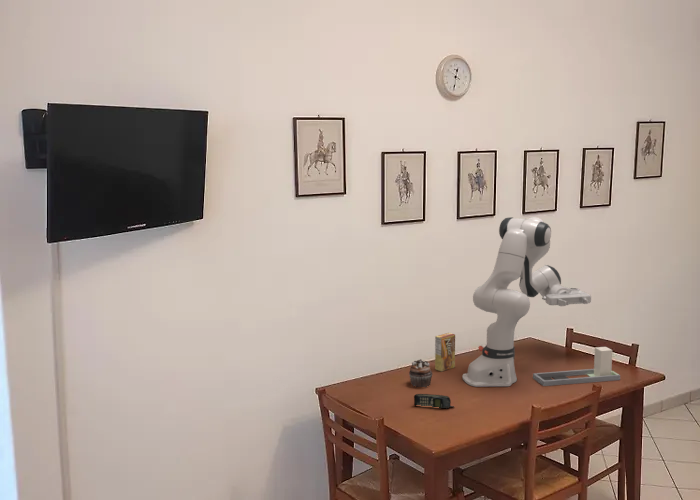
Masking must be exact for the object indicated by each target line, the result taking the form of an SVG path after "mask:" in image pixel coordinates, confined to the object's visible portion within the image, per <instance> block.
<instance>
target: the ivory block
mask: <svg viewBox="0 0 700 500" xmlns="http://www.w3.org/2000/svg"><path fill="white" fill-rule="evenodd" d="M593 357H594V358H593V359H594V360H593V361H594V362H593V364H594V365H593V369H594V375H595V376H607V375H611V370H612V366H613V365H612V364H613V350H612V349H611V348H609V347H607V346H600V347H594V356H593ZM612 371H613V370H612Z"/></svg>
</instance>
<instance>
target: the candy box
mask: <svg viewBox="0 0 700 500" xmlns="http://www.w3.org/2000/svg"><path fill="white" fill-rule="evenodd" d="M434 337H435V339H434V340H435V344H434V346H435V347H434V349H435V351H434V352H435V353H434V357H435V358H434V370H435V371H439V372H443V371H444V372H445V371H448V370H451V369H454V368H456V334H455V333H452V332H447V333H444V334H443V333H442V334H438V335H435V336H434Z"/></svg>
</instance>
